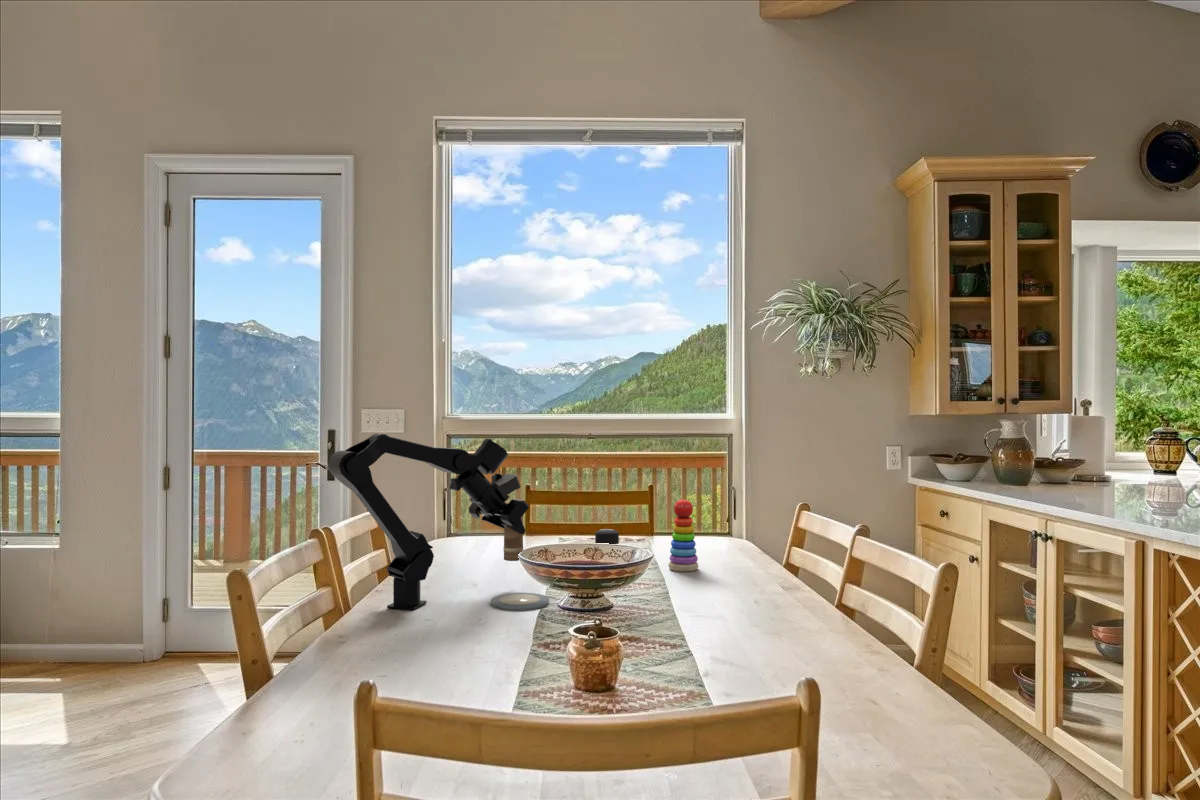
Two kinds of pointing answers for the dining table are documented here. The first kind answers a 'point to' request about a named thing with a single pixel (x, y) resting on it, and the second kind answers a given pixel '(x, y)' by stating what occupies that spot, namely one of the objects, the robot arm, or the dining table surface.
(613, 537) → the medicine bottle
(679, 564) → the stacking toy
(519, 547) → the brown cylinder
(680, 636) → the dining table surface
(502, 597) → the hub plate
